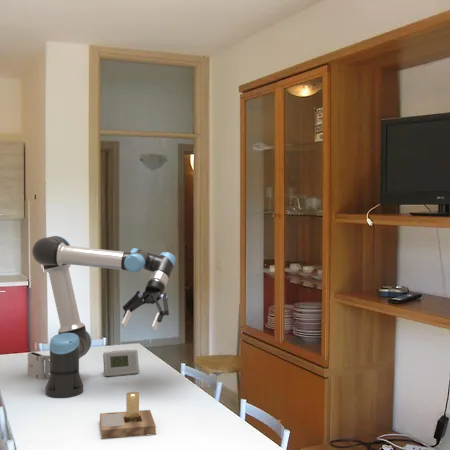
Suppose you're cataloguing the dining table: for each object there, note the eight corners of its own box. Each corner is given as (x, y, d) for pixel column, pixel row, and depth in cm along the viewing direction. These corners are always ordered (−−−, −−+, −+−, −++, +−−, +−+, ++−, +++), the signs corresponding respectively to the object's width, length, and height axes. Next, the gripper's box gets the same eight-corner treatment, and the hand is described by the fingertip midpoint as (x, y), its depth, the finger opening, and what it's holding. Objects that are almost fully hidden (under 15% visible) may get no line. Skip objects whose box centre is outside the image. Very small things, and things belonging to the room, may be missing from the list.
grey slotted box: (54, 378, 266) (54, 355, 265) (45, 381, 261) (45, 358, 260) (32, 373, 273) (32, 351, 272) (23, 376, 268) (23, 354, 268)
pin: (126, 430, 205) (126, 395, 205) (125, 425, 209) (125, 392, 209) (139, 429, 206) (139, 395, 206) (138, 424, 211) (138, 391, 210)
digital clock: (102, 377, 267) (103, 354, 266) (103, 372, 276) (103, 349, 275) (139, 376, 270) (139, 353, 270) (138, 370, 279) (138, 348, 278)
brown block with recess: (101, 438, 197) (101, 429, 197) (99, 421, 213) (99, 412, 213) (155, 434, 202) (155, 425, 202) (150, 417, 217) (150, 409, 217)
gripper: (186, 291, 247) (169, 334, 233) (133, 288, 256) (114, 329, 242) (181, 280, 241) (163, 324, 228) (127, 277, 250) (107, 318, 237)
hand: (138, 326), depth 235 cm, fingers open, 13 cm apart
